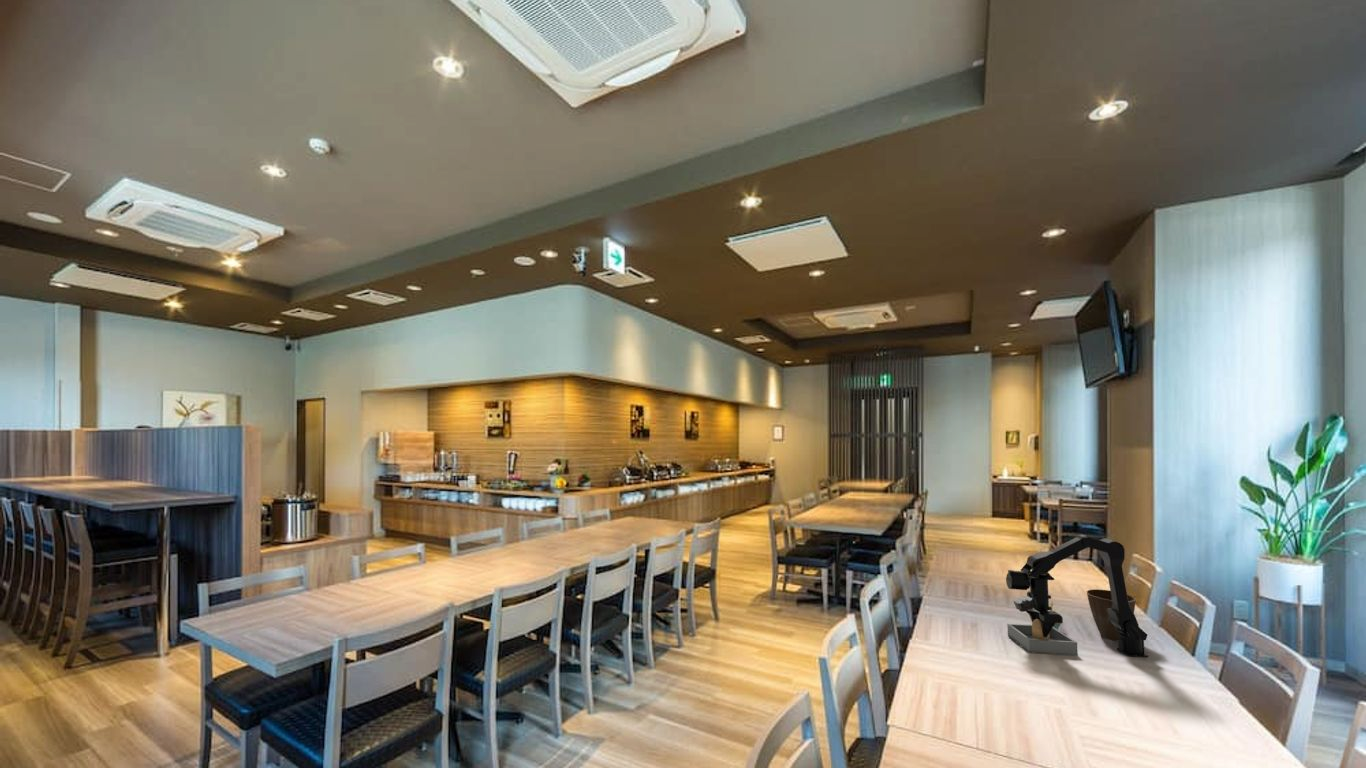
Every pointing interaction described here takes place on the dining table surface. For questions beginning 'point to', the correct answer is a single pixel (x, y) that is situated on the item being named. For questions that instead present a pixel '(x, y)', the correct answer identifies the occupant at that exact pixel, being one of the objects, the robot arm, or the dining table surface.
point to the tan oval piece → (1038, 630)
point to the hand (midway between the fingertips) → (1040, 634)
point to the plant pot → (1105, 612)
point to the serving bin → (1042, 641)
